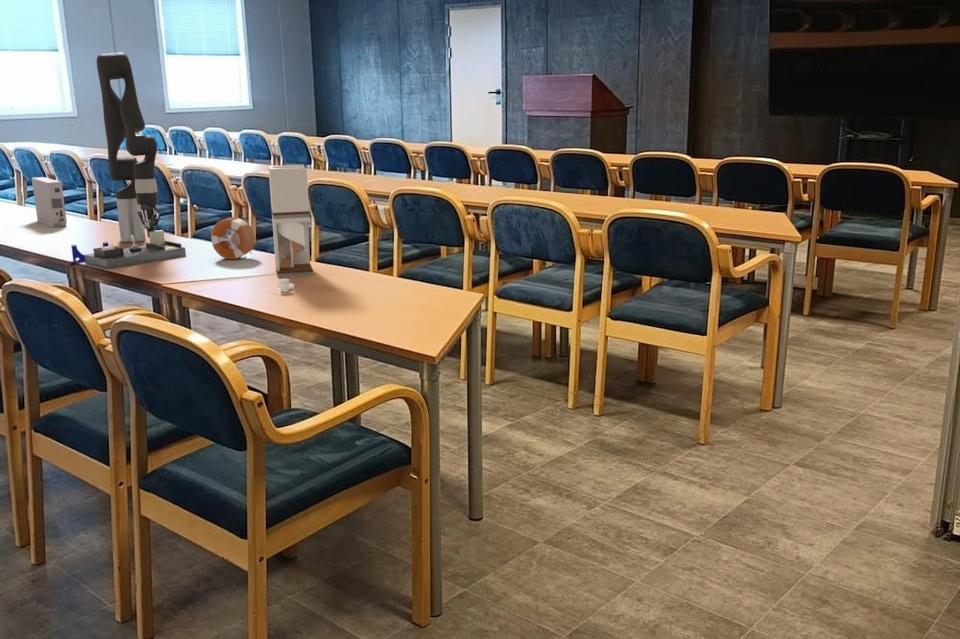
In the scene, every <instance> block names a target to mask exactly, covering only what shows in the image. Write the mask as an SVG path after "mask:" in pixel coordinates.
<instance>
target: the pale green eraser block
mask: <svg viewBox="0 0 960 639" xmlns="http://www.w3.org/2000/svg"><path fill="white" fill-rule="evenodd" d="M149 237H150V238H149ZM149 237H148V238H149V243H151V244H156V245H161V244H165V241H166V240H165V231H164V230H162V229H160V230H155V231H152V232H149Z"/></svg>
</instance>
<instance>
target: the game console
mask: <svg viewBox="0 0 960 639" xmlns="http://www.w3.org/2000/svg"><path fill="white" fill-rule="evenodd" d="M31 182H32V184H31V185H32V191H33V197H34V205H35V211H36V212H35V213H36V219H37V222H39V223H42V224H44V225H46V226H49V227H51V228H60V227H61V228H62V226H63V227H67V223H68V221H67V215H66V214H67V212H66V206H65V200H64V192H63V190H64V188H63V184H62V182H63V181H60V180H56V179H51V178H48V177H46V176H39V177H31Z"/></svg>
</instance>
